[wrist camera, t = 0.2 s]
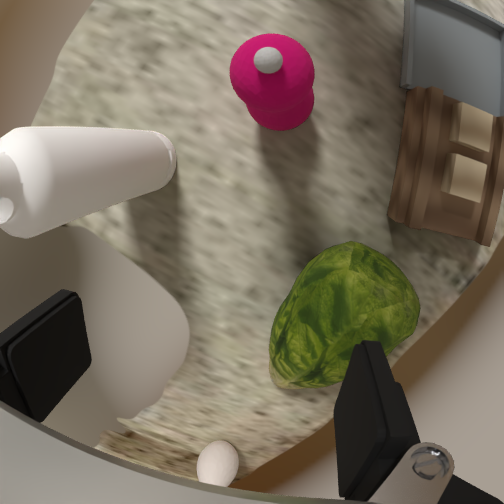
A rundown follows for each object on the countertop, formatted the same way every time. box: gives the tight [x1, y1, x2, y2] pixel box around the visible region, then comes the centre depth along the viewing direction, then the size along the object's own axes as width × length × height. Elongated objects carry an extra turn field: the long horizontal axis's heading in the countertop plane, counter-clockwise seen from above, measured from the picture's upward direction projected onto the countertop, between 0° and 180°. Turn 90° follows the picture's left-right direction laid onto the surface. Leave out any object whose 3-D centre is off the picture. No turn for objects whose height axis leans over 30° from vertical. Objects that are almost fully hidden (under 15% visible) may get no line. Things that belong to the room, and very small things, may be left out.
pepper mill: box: [230, 34, 315, 131], centre depth 26 cm, size 7×7×20 cm
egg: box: [197, 440, 239, 487], centre depth 48 cm, size 7×7×12 cm
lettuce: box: [269, 241, 420, 389], centre depth 37 cm, size 14×23×13 cm, turn 149°
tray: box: [400, 0, 504, 117], centre depth 28 cm, size 15×16×2 cm
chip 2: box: [440, 153, 487, 203], centre depth 30 cm, size 4×4×2 cm
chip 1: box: [449, 102, 493, 152], centre depth 28 cm, size 4×4×2 cm
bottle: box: [0, 127, 177, 238], centre depth 26 cm, size 8×8×28 cm
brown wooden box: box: [387, 86, 504, 247], centre depth 32 cm, size 16×14×6 cm
